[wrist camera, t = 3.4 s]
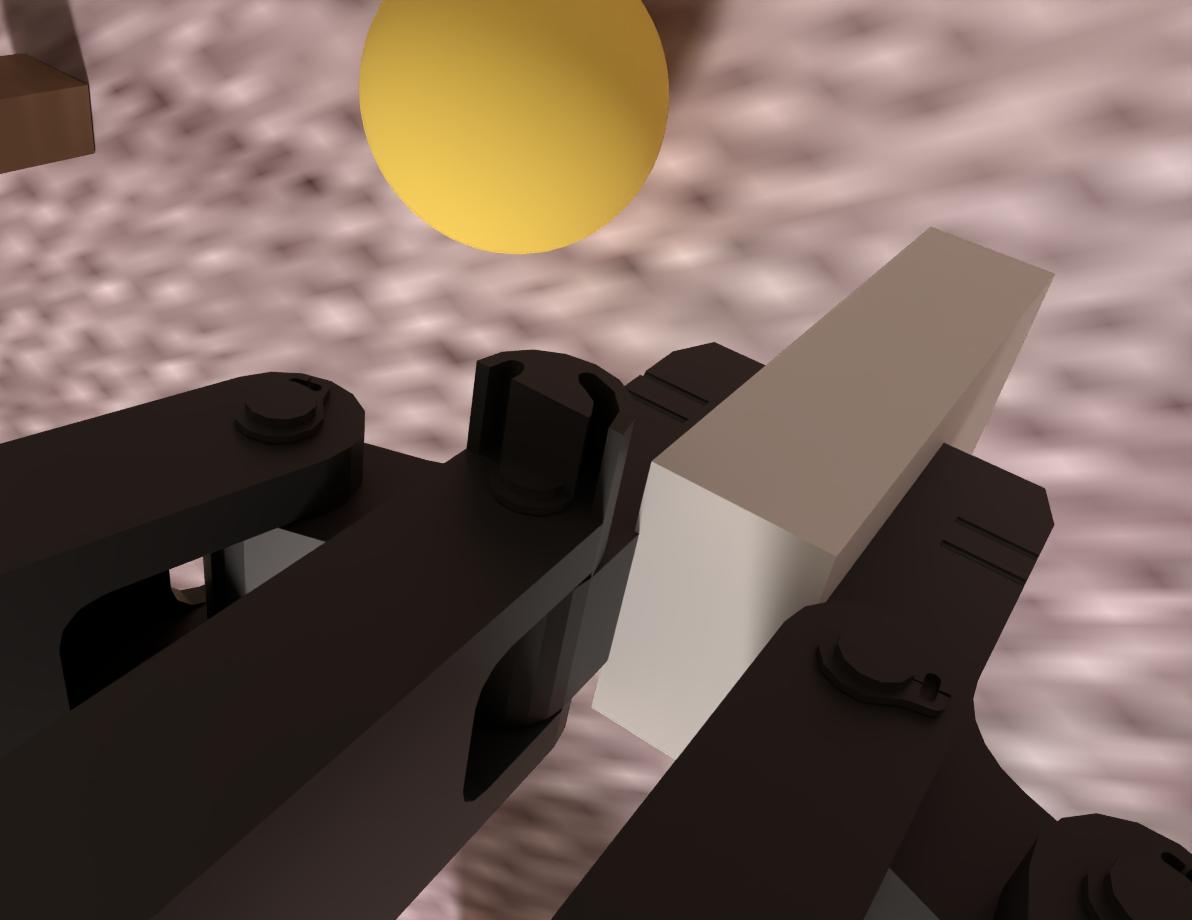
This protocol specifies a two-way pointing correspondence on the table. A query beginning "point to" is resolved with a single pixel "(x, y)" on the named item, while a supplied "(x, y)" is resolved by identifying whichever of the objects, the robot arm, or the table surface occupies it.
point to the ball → (514, 114)
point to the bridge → (41, 115)
